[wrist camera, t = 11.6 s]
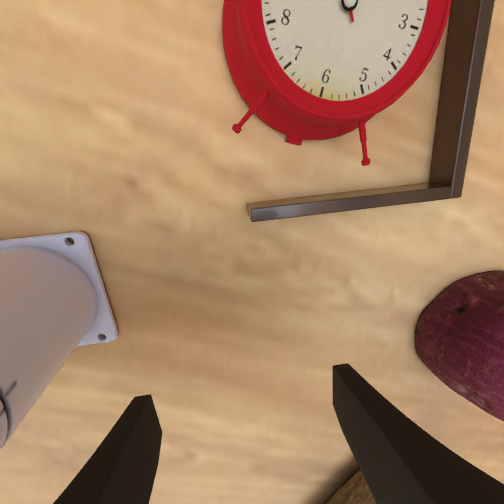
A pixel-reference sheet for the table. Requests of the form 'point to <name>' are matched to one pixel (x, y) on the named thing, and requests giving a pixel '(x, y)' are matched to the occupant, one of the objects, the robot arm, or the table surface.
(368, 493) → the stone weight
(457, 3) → the walnut frame
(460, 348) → the vegetable
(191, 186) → the table surface
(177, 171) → the table surface
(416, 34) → the alarm clock
